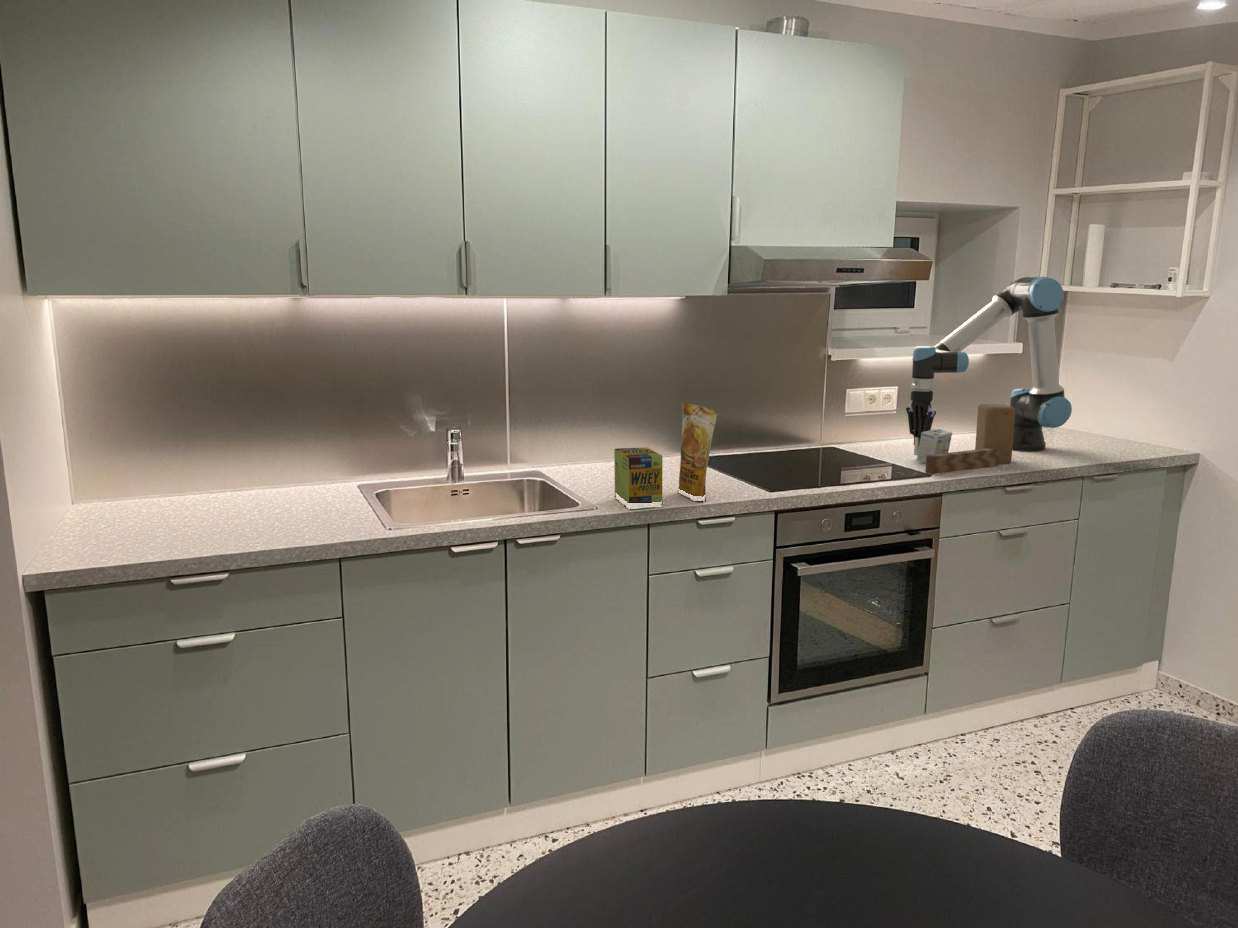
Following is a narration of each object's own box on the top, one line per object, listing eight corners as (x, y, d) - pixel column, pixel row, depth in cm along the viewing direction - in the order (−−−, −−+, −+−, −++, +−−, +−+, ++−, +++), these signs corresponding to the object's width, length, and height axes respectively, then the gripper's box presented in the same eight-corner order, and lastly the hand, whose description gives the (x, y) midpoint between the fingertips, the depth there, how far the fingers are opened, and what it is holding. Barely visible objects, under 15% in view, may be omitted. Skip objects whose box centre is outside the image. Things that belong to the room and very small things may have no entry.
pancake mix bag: (690, 489, 291) (691, 400, 286) (718, 502, 274) (720, 408, 268) (671, 491, 289) (671, 402, 283) (698, 504, 271) (699, 410, 266)
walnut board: (991, 464, 324) (992, 447, 323) (997, 466, 322) (999, 449, 320) (925, 472, 312) (926, 455, 311) (932, 474, 309) (933, 456, 308)
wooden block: (1012, 464, 325) (1016, 407, 321) (983, 464, 325) (987, 407, 321) (1001, 458, 335) (1005, 403, 331) (973, 458, 335) (977, 403, 331)
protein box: (628, 510, 265) (628, 457, 262) (614, 498, 280) (613, 448, 277) (663, 507, 268) (663, 455, 265) (647, 496, 283) (647, 446, 280)
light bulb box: (930, 456, 335) (935, 427, 332) (947, 461, 331) (953, 432, 328) (915, 460, 328) (921, 431, 325) (933, 465, 323) (938, 436, 320)
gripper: (901, 388, 335) (897, 452, 339) (927, 392, 323) (922, 458, 328) (917, 387, 338) (913, 451, 342) (943, 391, 326) (939, 457, 331)
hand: (918, 454), depth 335 cm, fingers closed
